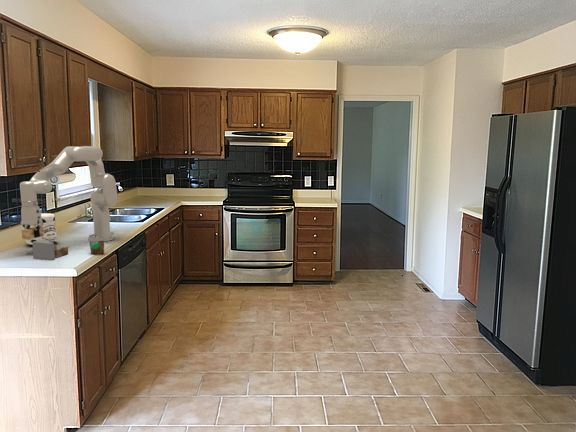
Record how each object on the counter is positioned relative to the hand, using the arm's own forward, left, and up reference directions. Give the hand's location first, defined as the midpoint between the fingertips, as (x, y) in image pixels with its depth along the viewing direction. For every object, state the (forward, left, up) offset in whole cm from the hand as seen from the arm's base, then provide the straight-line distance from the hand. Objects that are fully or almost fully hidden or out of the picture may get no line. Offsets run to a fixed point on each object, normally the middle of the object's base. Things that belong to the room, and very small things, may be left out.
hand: (33, 236), depth 262 cm
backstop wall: (+8, +14, -10) cm, 19 cm away
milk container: (-20, -13, -10) cm, 26 cm away
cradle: (-1, +14, -10) cm, 17 cm away
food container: (-11, +31, -10) cm, 34 cm away
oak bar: (0, 0, -1) cm, 1 cm away
